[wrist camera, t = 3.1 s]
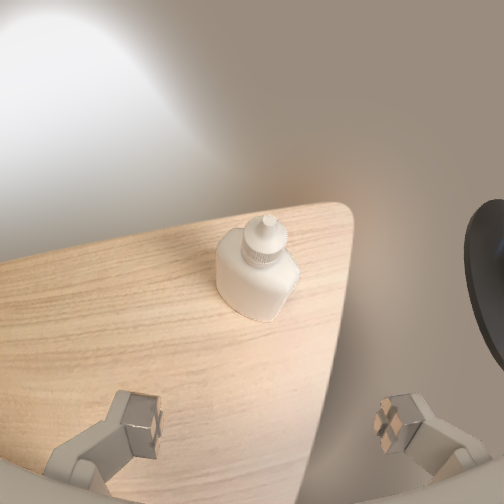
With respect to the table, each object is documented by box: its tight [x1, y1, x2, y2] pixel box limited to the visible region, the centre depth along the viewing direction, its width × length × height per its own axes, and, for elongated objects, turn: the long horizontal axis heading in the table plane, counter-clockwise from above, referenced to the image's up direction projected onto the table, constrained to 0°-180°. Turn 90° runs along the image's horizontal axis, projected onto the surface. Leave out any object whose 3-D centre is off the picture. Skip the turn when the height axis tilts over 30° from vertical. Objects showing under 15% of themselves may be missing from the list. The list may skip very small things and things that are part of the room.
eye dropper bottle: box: [216, 215, 301, 322], centre depth 21 cm, size 4×6×12 cm
